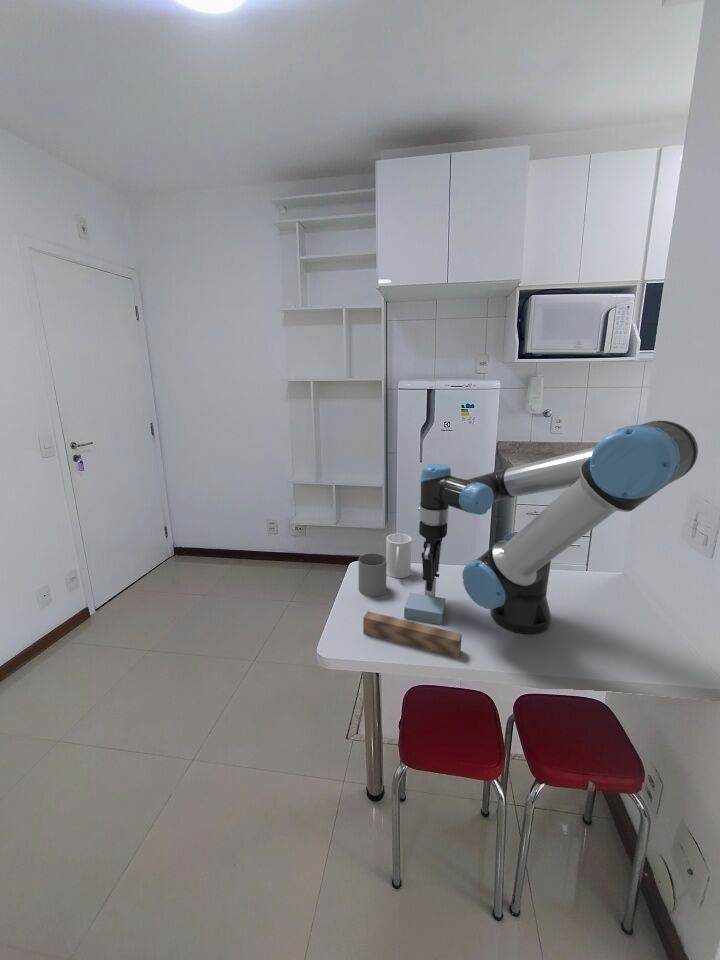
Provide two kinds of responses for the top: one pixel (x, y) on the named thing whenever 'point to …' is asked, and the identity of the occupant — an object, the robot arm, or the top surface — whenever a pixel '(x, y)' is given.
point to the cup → (372, 574)
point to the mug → (398, 555)
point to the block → (424, 608)
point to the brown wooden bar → (412, 634)
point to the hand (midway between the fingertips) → (429, 598)
